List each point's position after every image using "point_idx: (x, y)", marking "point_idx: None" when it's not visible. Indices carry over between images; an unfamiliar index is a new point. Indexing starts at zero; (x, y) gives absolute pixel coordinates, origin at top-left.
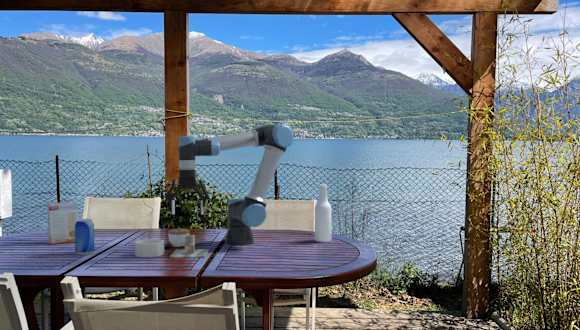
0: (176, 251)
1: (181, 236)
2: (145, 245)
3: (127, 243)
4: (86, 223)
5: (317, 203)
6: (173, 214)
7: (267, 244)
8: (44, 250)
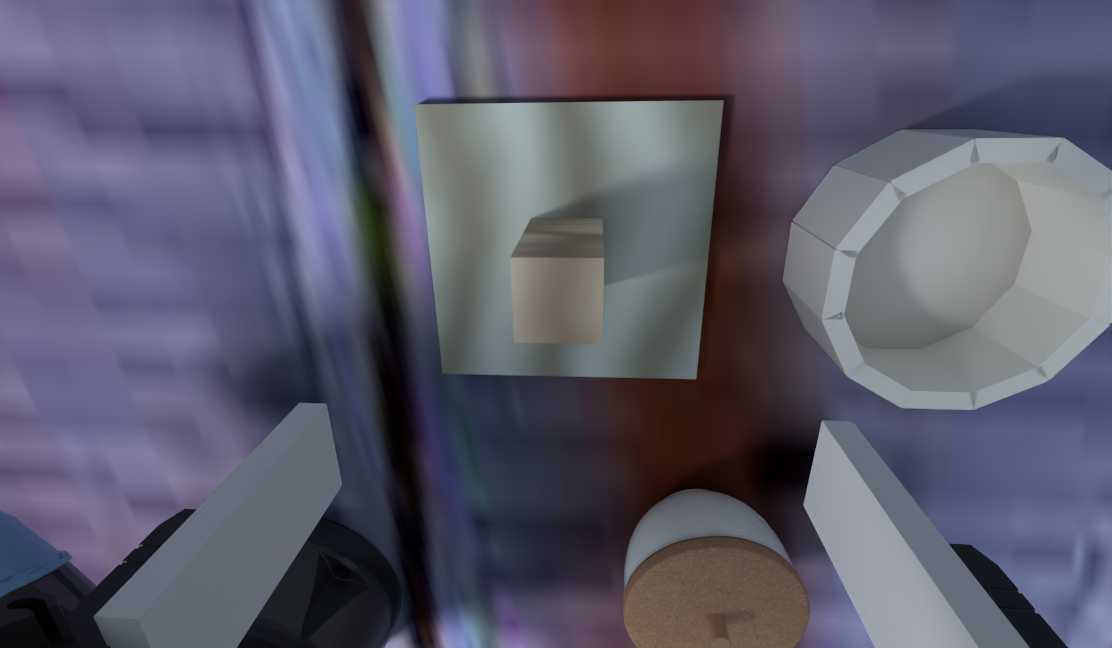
0: (684, 300)
1: (678, 526)
2: (1014, 136)
3: (1077, 603)
4: None
5: None
6: (823, 420)
7: (115, 522)
8: None
